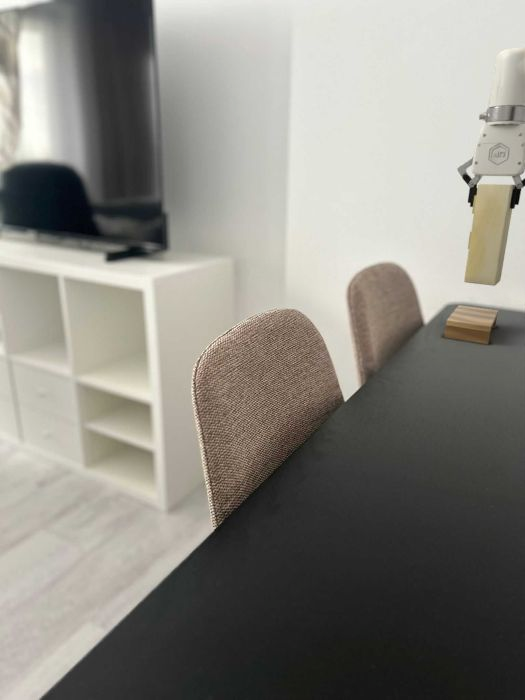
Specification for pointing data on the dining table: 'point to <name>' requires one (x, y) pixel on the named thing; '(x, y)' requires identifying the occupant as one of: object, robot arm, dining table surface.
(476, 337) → the oak shelf
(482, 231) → the toy refrigerator
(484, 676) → the dining table surface
